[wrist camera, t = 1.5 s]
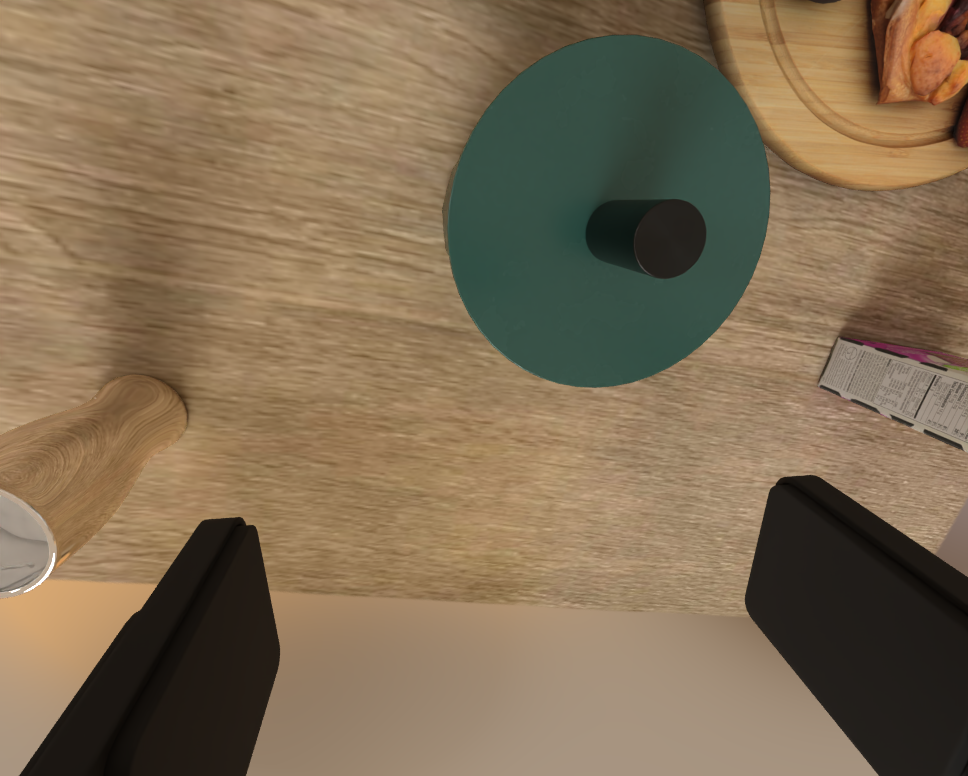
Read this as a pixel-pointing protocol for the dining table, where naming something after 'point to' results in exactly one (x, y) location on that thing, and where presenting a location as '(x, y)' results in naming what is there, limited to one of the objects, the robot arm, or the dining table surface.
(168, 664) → the robot arm
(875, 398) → the candy bar box
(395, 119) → the dining table surface
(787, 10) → the wooden plate
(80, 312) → the dining table surface
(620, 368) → the tin lid
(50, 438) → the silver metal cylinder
